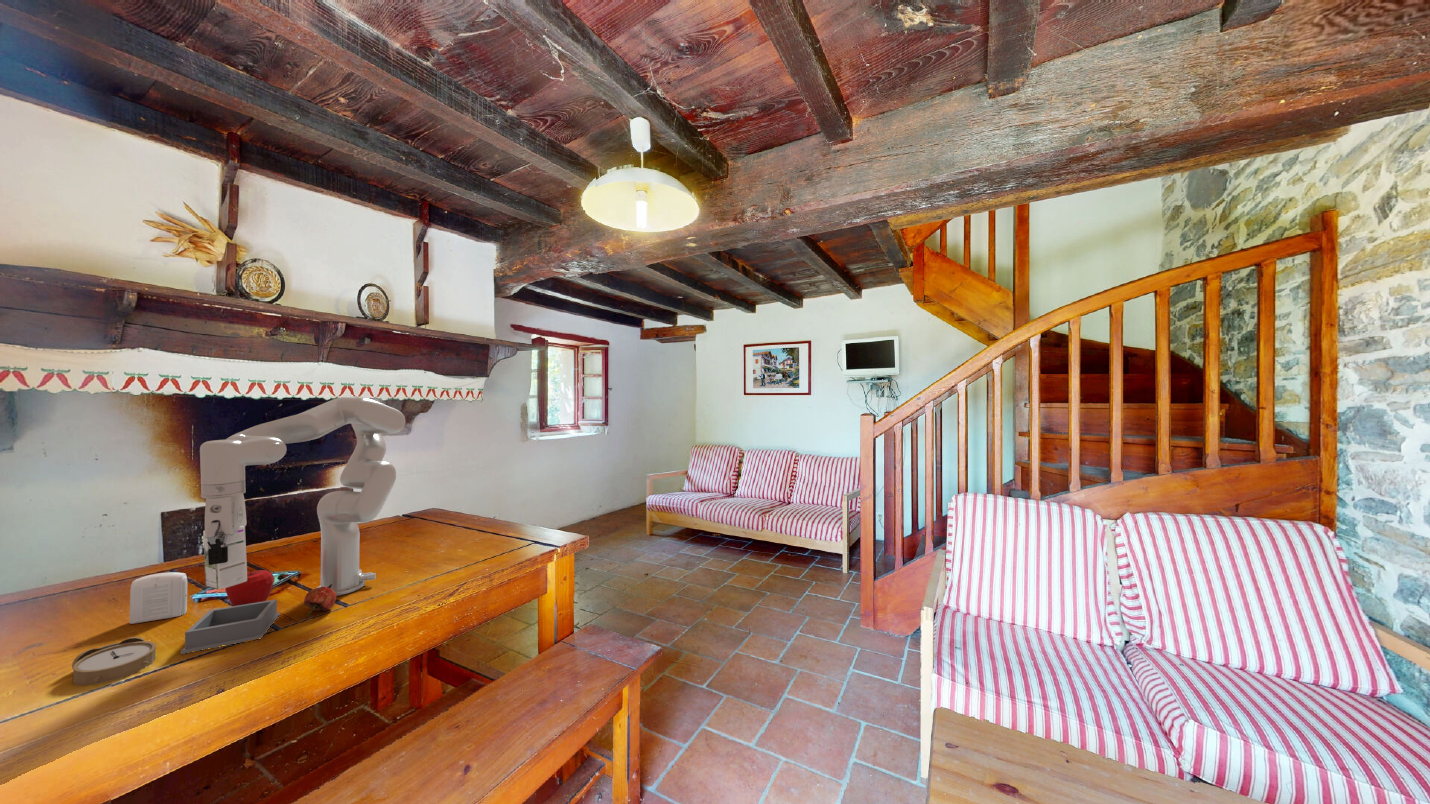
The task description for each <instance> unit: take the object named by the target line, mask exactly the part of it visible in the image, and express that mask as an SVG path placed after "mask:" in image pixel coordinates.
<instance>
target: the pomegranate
mask: <svg viewBox="0 0 1430 804" xmlns="http://www.w3.org/2000/svg"><path fill="white" fill-rule="evenodd" d="M331 586H332V584H330V586H328V587H319V588H317V587H316V588H312V589H311V590H310V591H308V592H307V593H306V595H305V596H304V599H303V605H304V606H306V607H308V608H309V609H310V610H309V612H308V614H307V615H306V616H309V615H310V614H311V613H312V612H313V611H314V612H315V611H317V612H319V611H324V612H325V611H328V610H330V609H331V608H333V606H334V604H336V601H337V596H336V593H335V592H334V591H333V589H332V588H331Z"/></svg>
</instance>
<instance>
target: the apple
mask: <svg viewBox="0 0 1430 804" xmlns="http://www.w3.org/2000/svg"><path fill="white" fill-rule="evenodd" d="M274 584H275V577H274V574H273V573H272V572H270V571H269V570H268V571H267V570H266V569H265V570H262V569H261V570H253V571H252V570H250V571H247V581H246V582H243V583H240V584H237V585H234V586H230V587H227V588H224V590H225V592H226V596H227V598H228V599H229V601H230V603H231V605H232V606H238V605H245V604H251V603H257V602H263V601H268V600H267V599H268V598H269V596H270V594H271V592H272V590H273V587H274Z"/></svg>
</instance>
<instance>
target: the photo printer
mask: <svg viewBox="0 0 1430 804" xmlns="http://www.w3.org/2000/svg"><path fill="white" fill-rule="evenodd" d="M129 589H130V591H129V593H130V596H129V624H130V625H131V624H132V625H133V624H139V623H145V622H150V621H151V622H152V621H157V620H163V619H170V618H171V619H172V618H175V617H181V615H182V616H184V615H186V613H187V611H188V610H187V607H188V602H187V601H188V577H187V574H186V573H184V572H173V571H172V572H171V571H170V572H161V573H153V574H149V575H145V576H141V577H140V578H137V579H134V580H132V583H131V586H130V588H129ZM183 614H184V615H183Z"/></svg>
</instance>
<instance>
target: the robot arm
mask: <svg viewBox="0 0 1430 804" xmlns="http://www.w3.org/2000/svg"><path fill="white" fill-rule="evenodd" d="M348 424H351V427H352V429H353V431H354V434H355V436H356V445H355V448H354V450H353V453H352V454H351V456H350V458H349V459H348V461H347V462H346V464H345V466H344V468H343V469H342V471H341V474H340V477H339V482H340V484H341V485H342V486H343V487H345V488H348V489H353V490H361V491H353V490H352V491H351V490H335V491H330V492H328V493H325V494H324V495H323V496H322V497H321V498H320V500H319V501H318V504H317V506H316V513H317V518H318V522H319V525H320V526H319V527H320V538H321V539H320V585H319V586H317V587H316V588H319V587H328V586H330V584H332V586H331V588H332V589H333V591H334V592H335V593H336V597H337V596H342V595H343V596H344V595H346V594H350V593H353V592H356V591H358V590H360V589H361V588H363V587H364V586H365V584H366V581H372V580H376V578H377V577H376V575H377V573H376V572H374V573H373V572H372V571H370V572H365V573H364V572H362V568H360V527H359V525H358V523H369V522H371V521H373V520H375V519H376V518H377V517H378V515H379V514H380V513H381V511H382V509H383V508H384V505H385V504H386V501H387V500H388V497H389V495H390V493H391V492H392V489H393V488H394V485H395V482H396V479H397V470H396V468H395V466H394V465H393V464H392V463H390V462H388V461H383V458H384V457H385V454H386V451H387V444H386V442H385V439H384V437H383V434H385V435H386V434H387V435H393V434H398V433H399V432H401V431H402V430H403V429H404V428H405V426H406V417H405V415H404V414H403V413H402V411H401V410H398V409H397V408H395V407H391V406H389V405H386V404H385V403H382V402H379V401H376V400H374V399H370V398H367V397H351V396H349V397H347V396H346V397H345V396H343V397H338V398H337V397H335V398H333V399H331V400H329V401H326V402H324V403H321V404H319V405H317V406H315V407H311V408H309V409H307V410H305V411H303V412H300V413H298V414H294V415H290V416H287V417H282V418H279V419H275V420H271V421H268V422H264V423H260V424H257V425H254V426H252V427H249V428H247V429H244V430H242V431H239V432H236V433H234V434H232V435H231V436H229V437H227V438H225V439H218V440H217V439H215V440H207V441H205V442H203V443H202V444H200V447H199V458H200V459H199V461H200V463H199V464H200V467H199V468H200V491H201V492H200V494H201V495H200V497H201V498H202V499H205V506H204V530H205V535H206V537H207V540H208V541H207V544H208V563H209V565H213V564H220V563H226V562H227V561H228V546H226V541H227V536H228V534H229V535H230V536H231V535H234V534H236V533H237V532H238V531H239V527H241V526H243V527H245V528H246V526H247V510H246V509H247V508H246V501H245V496H244V494H246V492H247V491H246V489H247V488H246V466H256V465H257V466H258V465H259V466H260V465H261V466H262V465H271V464H274V463H276V462H278V461H280V460H282V458H285V457H284V456H285V455H286V454H287V450H288V449H287V444H294V443H302V442H308V441H311V440H312V441H313V440H316V439H320V438H321V437H324V436H326V435H327V434H330V433H331V432H333V431H336V430H337V429H339V428H341V427H343V426H345V425H348ZM220 526H221V527H220ZM218 532H224V534H219V535H217V533H218ZM217 538H222V541H220V539H217Z"/></svg>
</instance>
